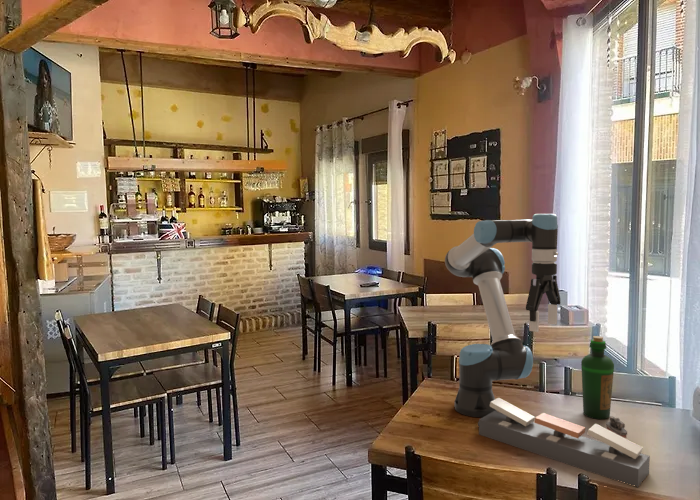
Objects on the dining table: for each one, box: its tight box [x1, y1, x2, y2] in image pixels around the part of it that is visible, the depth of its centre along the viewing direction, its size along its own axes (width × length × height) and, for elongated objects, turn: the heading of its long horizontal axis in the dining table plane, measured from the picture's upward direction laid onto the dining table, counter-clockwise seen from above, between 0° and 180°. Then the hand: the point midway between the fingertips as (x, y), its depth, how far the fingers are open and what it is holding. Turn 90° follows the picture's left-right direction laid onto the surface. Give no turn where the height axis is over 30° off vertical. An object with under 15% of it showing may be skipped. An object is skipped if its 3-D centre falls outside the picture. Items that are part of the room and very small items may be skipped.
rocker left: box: [490, 397, 536, 426], centre depth 166 cm, size 13×5×2 cm, turn 45°
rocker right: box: [586, 423, 644, 459], centre depth 144 cm, size 13×5×2 cm, turn 45°
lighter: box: [605, 416, 628, 439], centre depth 155 cm, size 8×3×10 cm, turn 5°
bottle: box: [580, 335, 615, 420], centre depth 181 cm, size 11×11×28 cm
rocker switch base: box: [477, 411, 651, 488], centre depth 155 cm, size 50×10×7 cm, turn 45°
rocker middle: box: [534, 412, 586, 438], centre depth 155 cm, size 13×5×2 cm, turn 45°
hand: (543, 327), depth 166 cm, fingers open, 13 cm apart
